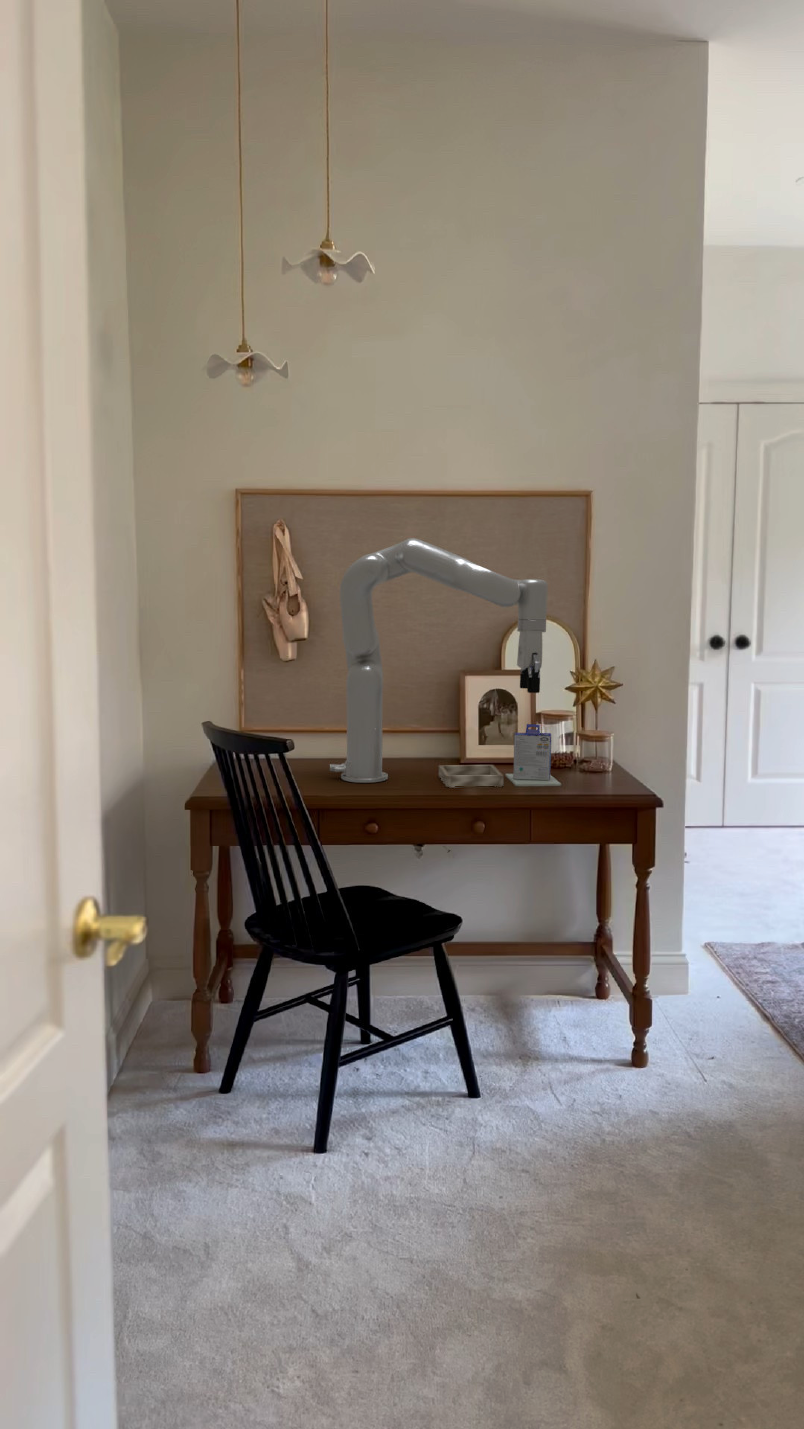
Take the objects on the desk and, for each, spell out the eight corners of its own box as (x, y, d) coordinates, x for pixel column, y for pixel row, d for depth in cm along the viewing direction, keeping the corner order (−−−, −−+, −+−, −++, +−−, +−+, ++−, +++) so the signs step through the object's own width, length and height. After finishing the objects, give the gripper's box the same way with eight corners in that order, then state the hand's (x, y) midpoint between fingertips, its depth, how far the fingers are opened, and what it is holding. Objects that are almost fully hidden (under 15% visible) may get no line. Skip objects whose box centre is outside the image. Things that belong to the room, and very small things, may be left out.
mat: (516, 786, 287) (516, 784, 287) (505, 775, 301) (505, 773, 301) (560, 785, 289) (560, 783, 289) (548, 775, 302) (548, 773, 302)
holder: (446, 787, 285) (446, 776, 285) (438, 776, 300) (438, 765, 299) (503, 786, 287) (503, 775, 286) (492, 775, 301) (492, 764, 301)
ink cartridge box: (550, 777, 297) (552, 724, 295) (550, 781, 292) (551, 727, 290) (513, 775, 299) (515, 723, 297) (513, 779, 293) (514, 726, 291)
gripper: (511, 624, 298) (509, 686, 301) (524, 628, 281) (522, 694, 284) (538, 624, 299) (536, 686, 301) (553, 628, 282) (550, 694, 284)
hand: (529, 690), depth 292 cm, fingers open, 9 cm apart
